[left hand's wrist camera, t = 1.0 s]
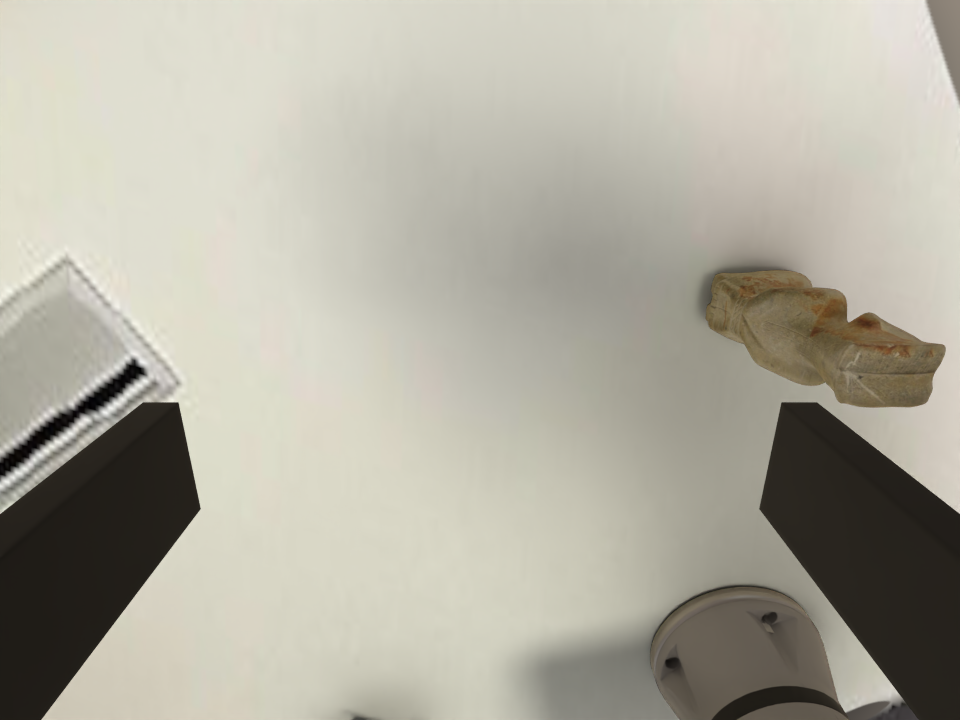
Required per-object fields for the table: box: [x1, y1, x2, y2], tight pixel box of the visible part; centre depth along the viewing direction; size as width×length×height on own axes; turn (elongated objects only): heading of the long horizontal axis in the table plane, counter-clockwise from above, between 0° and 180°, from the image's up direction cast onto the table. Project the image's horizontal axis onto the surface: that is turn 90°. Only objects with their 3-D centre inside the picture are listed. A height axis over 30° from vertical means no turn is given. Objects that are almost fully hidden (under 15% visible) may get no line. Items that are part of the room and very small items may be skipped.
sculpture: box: [706, 270, 946, 407], centre depth 35 cm, size 6×7×15 cm
